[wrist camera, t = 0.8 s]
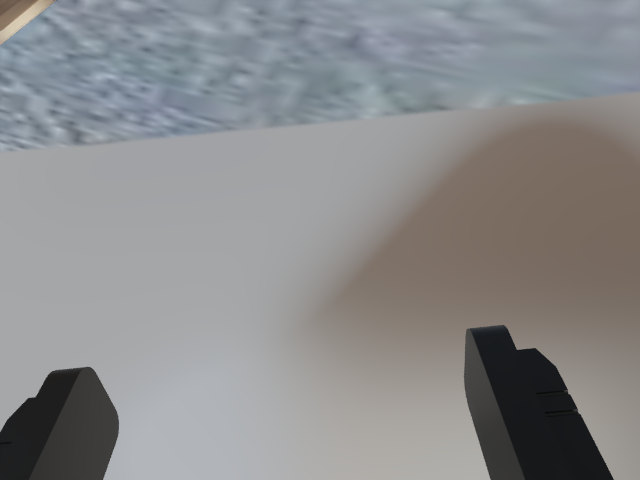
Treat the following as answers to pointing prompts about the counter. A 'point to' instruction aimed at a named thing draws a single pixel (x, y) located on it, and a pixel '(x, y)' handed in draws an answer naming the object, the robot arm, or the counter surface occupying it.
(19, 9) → the t block
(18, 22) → the board
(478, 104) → the counter surface
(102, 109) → the counter surface
